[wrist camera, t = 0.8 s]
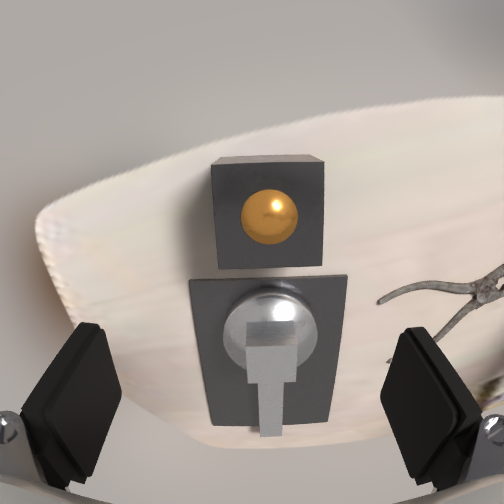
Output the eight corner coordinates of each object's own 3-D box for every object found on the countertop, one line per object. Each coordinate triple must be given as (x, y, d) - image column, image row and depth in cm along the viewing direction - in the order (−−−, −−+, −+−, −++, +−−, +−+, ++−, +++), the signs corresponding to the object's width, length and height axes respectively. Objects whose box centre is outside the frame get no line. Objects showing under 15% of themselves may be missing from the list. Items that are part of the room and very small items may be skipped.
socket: (309, 154, 25) (324, 161, 19) (309, 238, 27) (322, 266, 22) (220, 157, 25) (210, 165, 19) (226, 241, 27) (218, 269, 22)
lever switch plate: (346, 274, 28) (365, 308, 23) (326, 421, 36) (333, 458, 30) (190, 279, 29) (175, 314, 23) (214, 425, 36) (209, 462, 31)
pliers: (363, 311, 29) (514, 211, 25) (360, 306, 30) (510, 209, 26) (392, 371, 32) (524, 281, 28) (390, 366, 33) (521, 278, 29)
